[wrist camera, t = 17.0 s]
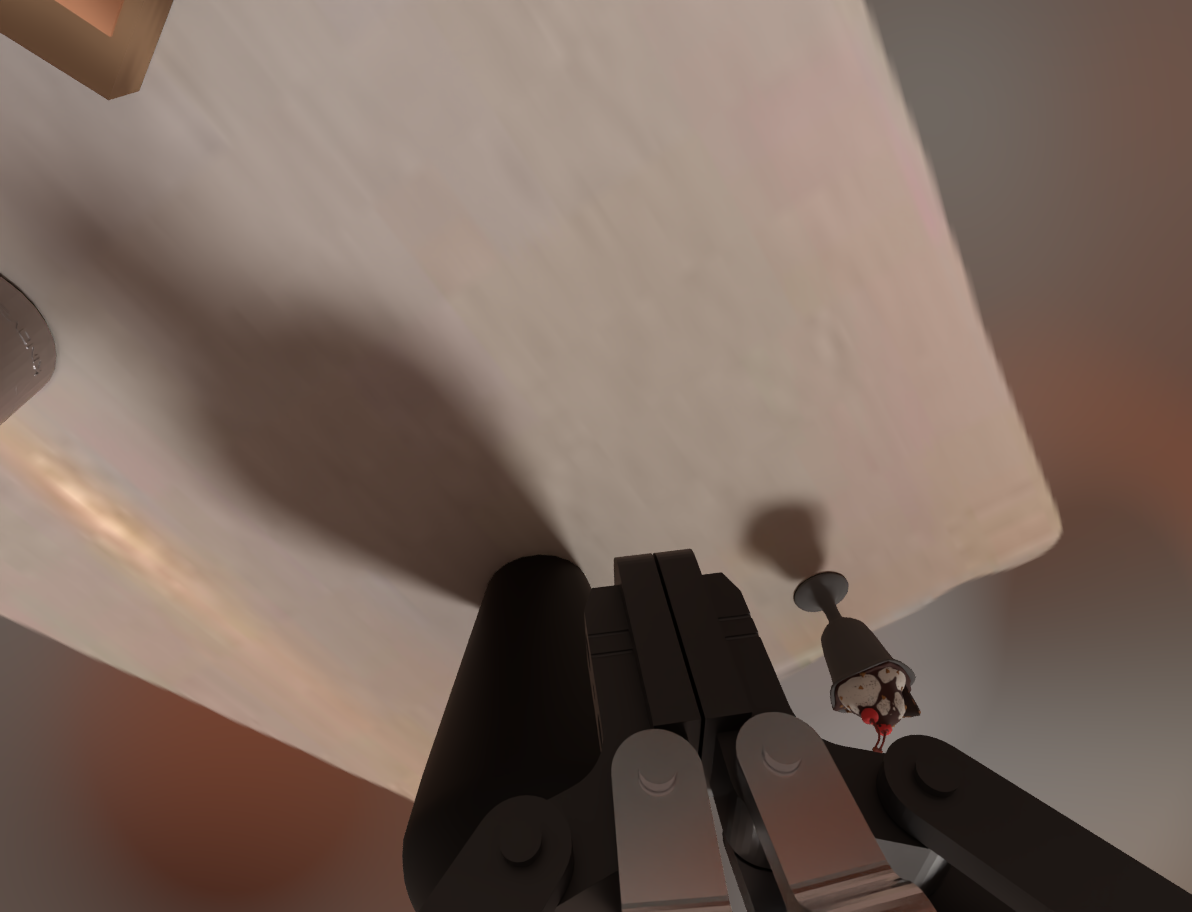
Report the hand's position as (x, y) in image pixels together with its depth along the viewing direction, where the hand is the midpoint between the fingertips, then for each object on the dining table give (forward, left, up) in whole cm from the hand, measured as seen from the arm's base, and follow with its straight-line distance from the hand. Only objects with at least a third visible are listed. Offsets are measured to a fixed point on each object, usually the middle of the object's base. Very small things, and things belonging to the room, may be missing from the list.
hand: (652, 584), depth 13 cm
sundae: (+22, -35, -29) cm, 50 cm away
